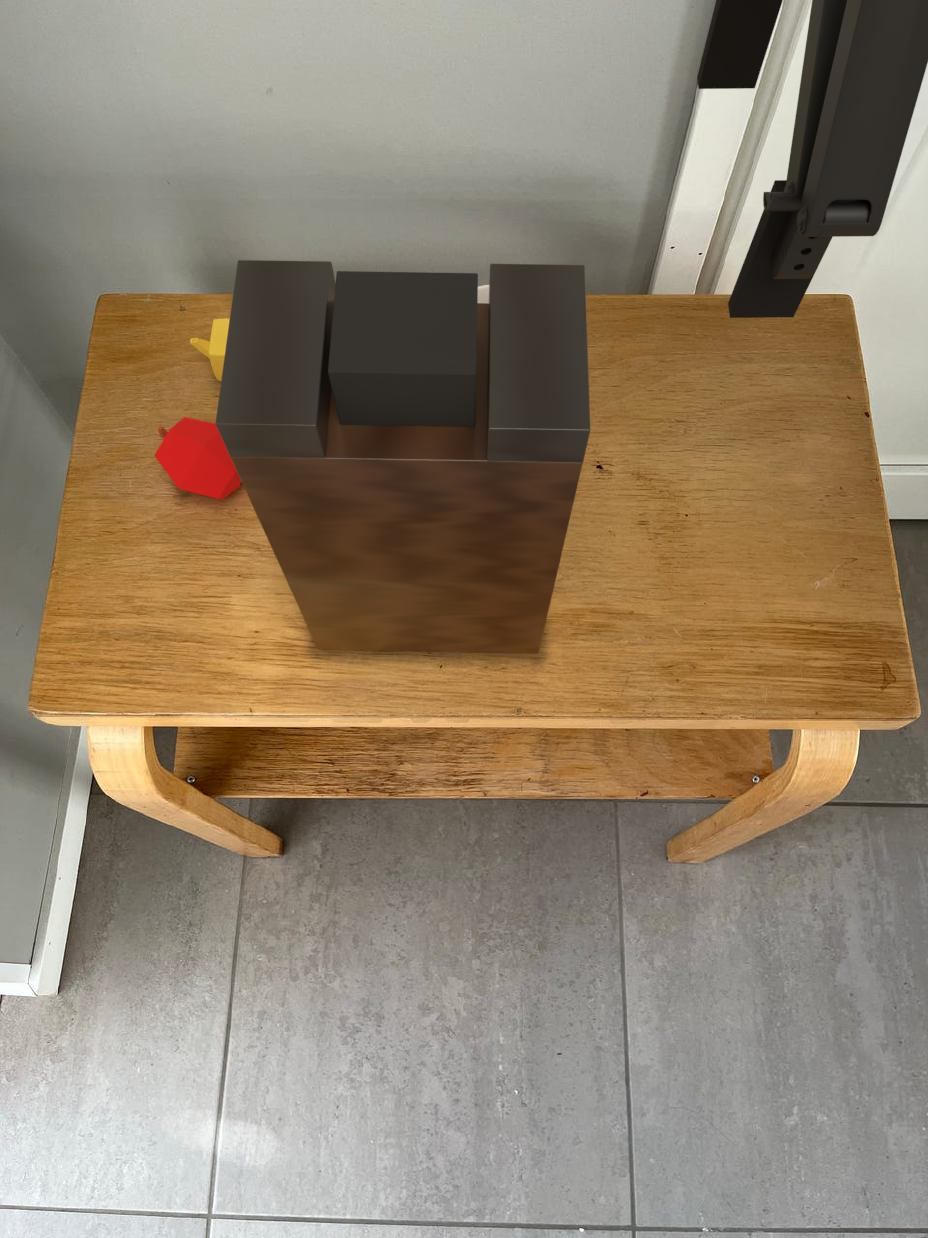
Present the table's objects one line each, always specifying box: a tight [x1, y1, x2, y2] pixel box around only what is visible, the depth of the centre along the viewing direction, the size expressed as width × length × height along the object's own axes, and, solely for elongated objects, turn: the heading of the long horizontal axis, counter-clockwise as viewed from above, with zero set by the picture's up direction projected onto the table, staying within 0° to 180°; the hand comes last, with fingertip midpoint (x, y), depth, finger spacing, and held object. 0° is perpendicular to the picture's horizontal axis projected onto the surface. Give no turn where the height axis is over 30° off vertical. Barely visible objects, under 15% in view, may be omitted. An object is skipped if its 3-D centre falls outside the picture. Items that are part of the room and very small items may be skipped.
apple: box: [153, 416, 242, 501], centre depth 78 cm, size 7×7×8 cm
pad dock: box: [214, 259, 591, 655], centre depth 61 cm, size 18×10×33 cm, turn 89°
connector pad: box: [328, 270, 479, 427], centre depth 46 cm, size 7×6×4 cm
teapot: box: [189, 317, 230, 382], centre depth 82 cm, size 8×6×5 cm
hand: (741, 190), depth 42 cm, fingers open, 13 cm apart
